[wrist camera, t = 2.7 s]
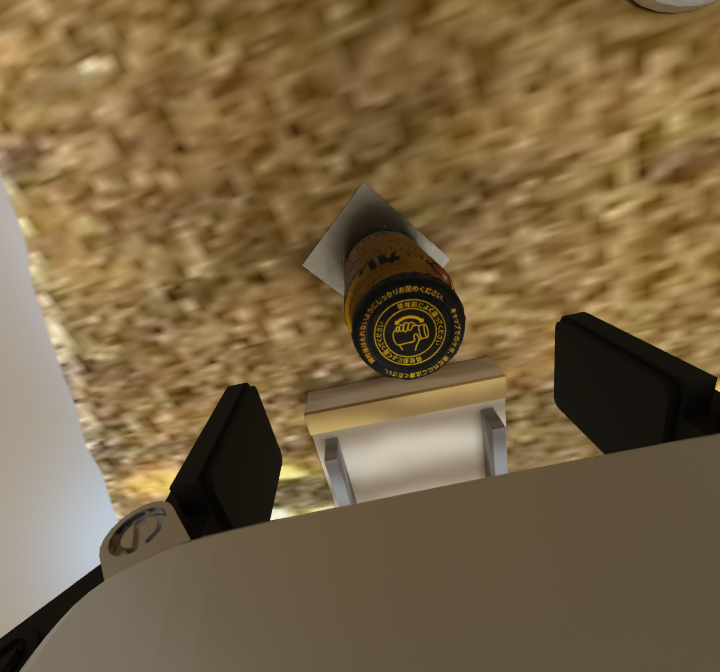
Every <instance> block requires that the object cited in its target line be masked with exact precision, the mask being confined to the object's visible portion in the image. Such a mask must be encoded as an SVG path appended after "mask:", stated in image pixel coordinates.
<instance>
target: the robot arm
mask: <svg viewBox="0 0 720 672" xmlns="http://www.w3.org/2000/svg"><path fill="white" fill-rule="evenodd" d="M633 1H634V2H636V3H637V4H639V5H640V6H643V7H646V8H649V9H651V10H654V11H657V12H669V13H680V12H685V11H691V10H696V9H700V8H702V7H704V6H707V5H709V4H712V3H714V2H717V1H719V0H633ZM716 382H717V377H715V376H713V375H711V374H709V373H707V372H705V371H703V370H701V369H699V368H697V367H695V366H693V365H691V364H689V363H687V362H685V361H683V360H681V359H679V358H677V357H675V356H673V355H671V354H669V353H667V352H665V351H663V350H661V349H659V348H657V347H655V346H653V345H651V344H649V343H647V342H645V341H643V340H641V339H639V338H637V337H635V336H633V335H631V334H629V333H627V332H625V331H623V330H621V329H619V328H617V327H615V326H613V325H611V324H609V323H606V322H604V321H602V320H600V319H598V318H596V317H594V316H592V315H590V314H588V313H586V312H580V313H575V314H570V315H566V316H563V317H562V318H561V320H560V322H557V323H556V326H555V367H554V400H555V403H556V405H557V407H558V408H559V409H560V410H561V411H562V412H563V413H564V414H565V415H566V416H567V417H568V418H569V419H570V420H571V421H572V422H573V423H574V424H575V425H576V426H577V427H578V428H579V429H580V430H581V431H582V432H583V433H584V434H585V435H586V436H587V437H588V438H589V439H590V440H591V441H592V442H593V443H594V444H595V445H596V446H597V447H598V448H599V449H600V450H601V451H602V452H603V453H604V454H605V455H600V456H594V457H589V458H584V459H579V460H574V461H568V462H563V463H558V464H553V465H548V466H543V467H538V468H533V469H527V470H522V471H517V472H512V473H507V474H502V475H497V476H492V477H486V478H481V479H476V480H471V481H466V482H461V483H456V484H451V485H446V486H441V487H436V488H431V489H426V490H421V491H416V492H411V493H406V494H401V495H396V496H391V497H386V498H380V499H375V500H370V501H365V502H360V503H356V504H351V505H346V506H341V507H336V508H331V509H326V510H321V511H316V512H311V513H306V514H301V515H296V516H291V517H286V518H281V519H277V520H272V521H270V518H271V513H272V509H273V504H274V499H275V494H276V490H277V485H278V480H279V476H280V471H281V466H282V455H281V451H280V448H279V446H278V443H277V441H276V438H275V435H274V433H273V430H272V428H271V425H270V422H269V420H268V417H267V415H266V412H265V409H264V407H263V404H262V401H261V399H260V396H259V394H258V391H257V389H256V387H255V386H250V385H249V384H248V383H242V384H238V385H233V386H228V387H227V389H226V390H225V392H224V394H223V395H222V397H221V399H220V401H219V402H218V404H217V406H216V408H215V409H214V411H213V413H212V415H211V416H210V418H209V420H208V422H207V423H206V425H205V427H204V429H203V430H202V432H201V434H200V436H199V437H198V439H197V441H196V443H195V444H194V446H193V448H192V450H191V451H190V453H189V455H188V457H187V458H186V460H185V462H184V464H183V465H182V467H181V469H180V471H179V472H178V474H177V476H176V478H175V479H174V481H173V483H172V484H171V486H170V488H169V489H170V490H171V492H170V494H169V496H168V497H167V499H166V501H165V502H164V501H158V502H152V503H149V504H146V505H143V506H141V507H139V508H138V509H136V510H134V511H132V512H131V513H129V514H128V515H127V516H125V517H124V518H123V519H121V520H120V521H119V522H118V523H117V524H116V525H115V526H114V527H113V528H112V529H111V530H110V532H109V533H108V534H107V536H106V537H105V538H104V540H103V542H102V545H101V547H100V554H99V557H100V562H101V564H100V565H99V566H97V567H96V568H95V569H93V570H92V571H91V572H89V573H88V574H87V575H85V576H84V577H83V578H81V579H80V580H78V581H77V582H76V583H74V584H73V585H72V586H70V587H69V588H68V589H66V590H65V591H64V592H62V593H61V594H60V595H58V596H57V597H56V598H54V599H53V600H52V601H50V602H49V603H47V604H46V605H45V606H44V607H42V608H41V609H39V610H38V611H37V612H35V613H34V614H33V615H32V616H30V617H29V618H27V619H26V620H25V621H23V622H22V623H21V624H19V625H18V626H17V627H15V628H14V629H12V630H11V631H10V632H8V634H6V635H4V636H3V637H2V638H0V672H720V392H719V391H717V390H715V386H716Z"/></svg>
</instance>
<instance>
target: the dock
mask: <svg viewBox="0 0 720 672" xmlns="http://www.w3.org/2000/svg"><path fill="white" fill-rule="evenodd" d="M505 398H507V390H506V376H505V375H504V373H503V372H502V371H501V370H500V369H499V367H498V366H497V365H496V364H495V363H494V361H493V360H492V359H491V358H490V357H489V356H488V357H483V358H478V359H473V360H468V361H463V362H457V363H452V364H447V365H444V366H443V367H442V368H440V369H439V370H437V371H436V372H434V373H432V374H430V375H427V376H424V377H421V378H418V379H413V380H403V379H398V378H390V377H382V378H377V379H372V380H367V381H362V382H357V383H352V384H347V385H342V386H336V387H331V388H326V389H321V390H316V391H311V392H308V397H307V402H306V408H305V413H304V417H305V420H306V423H307V426H308V429H309V432H310V435H312V436H313V439H314V442H315V445H316V448H317V451H318V454H319V457H320V460H321V463H322V466H323V469H324V472H325V475H326V478H327V481H328V484H329V487H330V490H331V493H332V496H333V499H334V502H335V505H336V507H341V506H346V505H351V504H356V503H360V502H365V501H370V500H375V499H380V498H386V497H391V496H396V495H401V494H406V493H411V492H416V491H421V490H426V489H431V488H436V487H441V486H446V485H451V484H456V483H461V482H466V481H471V480H476V479H481V478H486V477H492V476H497V475H502V474H507V473H508V465H507V440H506V416H505Z"/></svg>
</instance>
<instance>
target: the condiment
mask: <svg viewBox="0 0 720 672" xmlns="http://www.w3.org/2000/svg"><path fill="white" fill-rule="evenodd" d="M384 225H386V228H385V227H384ZM340 256H342V261H340ZM449 260H450V258H449V257H448V256H447V255H445V254H444V253H443V252H442V251H441V250H440V249H439V248H437V247H436V246H435V245H434V244H433V243H432V242H431V241H429V240H428V239H427V238H426V237H425V236H424V235H423V234H422V233H420V232H419V231H418V230H417V229H416V228H415V227H414V226H412V225H411V224H410V223H409V222H408V221H407V220H406V219H404V218H403V217H402V216H401V215H400V214H399V213H398V212H397V211H395V210H394V209H393V208H392V207H391V206H390V205H389V204H387V203H386V202H385V201H384V200H383V199H382V198H381V197H379V196H378V195H377V194H376V193H375V192H374V191H373V190H372V189H370V188H369V187H368V186H367V185H366V184H365V183H364V182H363V183H362V185H361V186H360V187H359V189H358V190H357V191H356V193H355V194H354V195H353V197H352V198H351V199H350V201H349V202H348V204H347V205H346V206H345V208H344V209H343V210H342V212H341V213H340V214H339V216H338V217H337V219H336V220H335V221H334V223H333V224H332V225H331V227H330V228H329V229H328V231H327V232H326V233H325V235H324V236H323V238H322V239H321V240H320V242H319V243H318V244H317V246H316V247H315V249H314V250H313V251H312V253H311V254H310V255H309V257H308V258H307V259H306V261H305V262H304V264H303V265H302V266H303V267H305V268H306V269H307V270H309V271H310V272H311V273H313V274H314V275H316V276H317V277H318V278H320V279H321V280H322V281H323V282H325V283H326V284H328V285H329V286H330V287H332V288H333V289H334V290H335V291H337V292H338V293H340V294H341V295H343V296H344V310H345V322H346V325H347V327H348V329H349V331H350V333H351V336H352V339H353V343H354V346H355V348H356V349H357V352H358V353H359V356H360V357H361V358H362V360H363V361H364V362H365V363H366V364H367V365H369V366H370V367H371V368H373V369H374V370H375V371H377V372H379V373H380V374H382V375H384V376H386V377H390V378H398V379H403V380H413V379H418V378H421V377H424V376H427V375H430V374H432V373H434V372H436V371H437V370H439V369H440V368H442V367H443V366H444V365H445V364H446V363H447V362H448V361H449V360H450V359H452V358H453V357H454V355H455V354H456V353H457V351H458V349H459V346H460V344H461V343H462V340H463V336H464V331H465V319H466V317H465V314H464V308H463V305H462V303H461V301H460V299H459V297H458V296H457V294H456V292H455V289H454V286H453V283H452V280H451V279H450V277H449V275H448V274H447V273H446V272H445V270H444V269H443V267H444V266H445V265H446V264H447V263H448V261H449ZM342 262H343V263H344V266H342V264H341V263H342Z"/></svg>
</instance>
